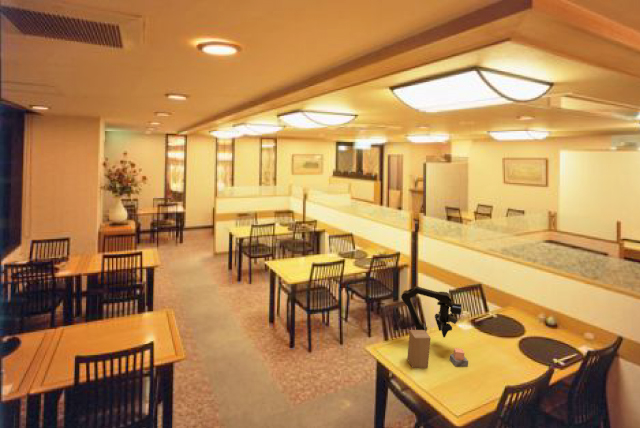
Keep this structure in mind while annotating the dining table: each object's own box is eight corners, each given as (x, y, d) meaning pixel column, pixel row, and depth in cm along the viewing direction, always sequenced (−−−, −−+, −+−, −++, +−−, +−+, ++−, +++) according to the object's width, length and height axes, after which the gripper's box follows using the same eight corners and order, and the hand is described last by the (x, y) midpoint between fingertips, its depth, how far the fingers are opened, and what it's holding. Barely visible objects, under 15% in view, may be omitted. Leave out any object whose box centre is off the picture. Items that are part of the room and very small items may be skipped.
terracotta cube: (455, 359, 224) (455, 352, 224) (453, 355, 229) (454, 347, 228) (463, 360, 224) (464, 352, 223) (461, 356, 229) (462, 348, 228)
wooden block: (407, 359, 229) (409, 329, 226) (422, 358, 230) (424, 329, 227) (412, 368, 220) (414, 337, 216) (428, 368, 220) (430, 337, 217)
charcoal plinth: (455, 367, 223) (456, 361, 222) (449, 360, 231) (450, 354, 230) (467, 367, 224) (468, 361, 223) (461, 359, 232) (461, 354, 231)
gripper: (461, 318, 227) (459, 341, 230) (451, 306, 246) (449, 327, 248) (443, 317, 227) (441, 340, 230) (435, 305, 246) (433, 327, 248)
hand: (441, 333), depth 239 cm, fingers open, 9 cm apart
